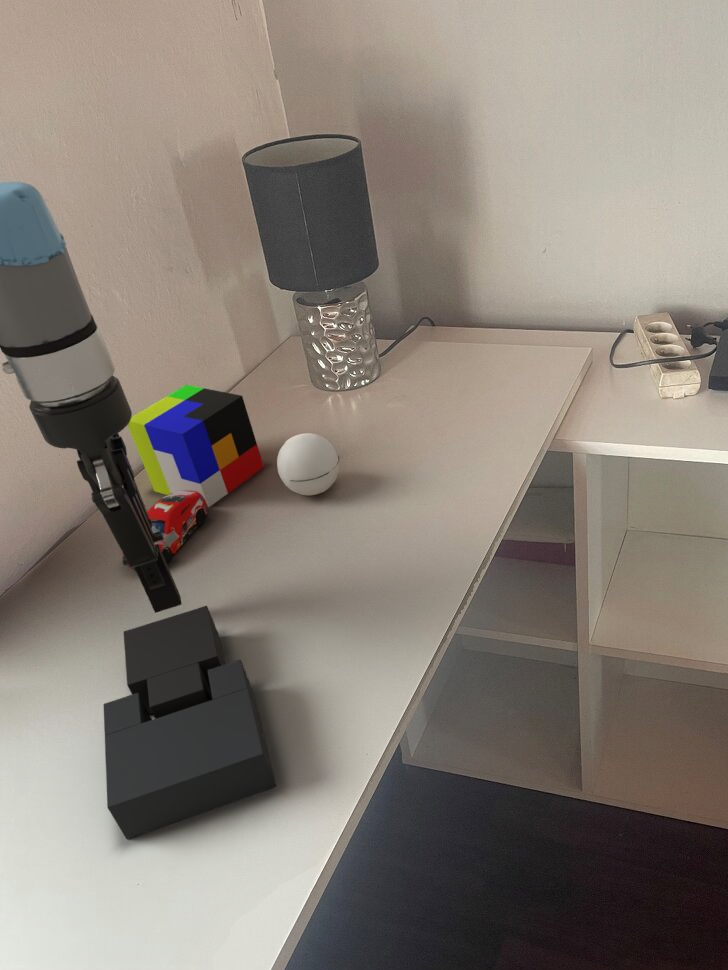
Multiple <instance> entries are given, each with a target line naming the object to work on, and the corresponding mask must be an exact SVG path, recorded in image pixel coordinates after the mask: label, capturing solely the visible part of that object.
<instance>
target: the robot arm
mask: <svg viewBox="0 0 728 970" xmlns="http://www.w3.org/2000/svg"><path fill="white" fill-rule="evenodd" d="M66 245H67V243H66V240H65V237H64V235H63V234H62V233H61V231H60V230H59V228H58V225H57V224H56V222H55V220H54V217H53V215H52V213H51V211H50V209H49V207H48V205H47V203H46V201H45V199H44V197H43V195H42V194H41V192H40V191H39V190H38V189H37V188H36V187H35V186H33V185H31V184H30V183H27V182H25V181H24V182H23V181H4V182H3V181H2V182H0V350H1V352H2V353H3V355H4V356H5V359H6V361H5V362H3V363H2V365H1V366H2V371H3V372H4V373H5V374H7V375H11V374H14V375H15V376H16V378H15V379H16V382H17V384H18V386H19V388H20V390H21V393H22V394H23V396H24V398H25V399H27V400H29V401H30V403H29V406H28V407H29V411H30V412H31V414H32V417H33V418H34V421H35V423H36V425H37V427H38V430H39V431H40V433H41V435H42V437H43V440H44V441H45V442H46V443H47V444H48V445H49V446H52V447H53V448H57V449H65V450H66V449H72V450H76V452H77V453H76V454H77V456H78V460H76V464H77V468H78V470H79V472H80V474H81V477H82V479H83V480H84V481H86V482H87V483H88V484H89V487H90V489H91V493H90V496H91V500H92V503H93V504H95V506H96V507H97V509H98V511H99V512H100V513H101V515H102V517H103V518H104V520H105V522H106V524H107V526H108V528H109V530H110V531H111V533H112V535H113V538H114V539H115V541H116V543H117V545H118V547H119V549H120V551H121V552H123V554H124V556H122V558H121V559H122V565H123V566H124V567H127V565H129V566H130V567H131V568H130V569H132V568H133V567H134V568H135V569H134V570H135V572H136V574H137V576H138V578H139V581H140V583H141V585H142V587H143V589H144V592H145V594H146V596H147V598H148V600H149V603H150V605H151V607H152V609H153V611H154V613H155V614H156V613H157V614H158V613H159V612H162V611H163V612H164V611H166V610H169V609H173V608H175V607H179V606H181V605H183V603H182V596H181V594H180V591H179V590H178V587H177V585H176V582H175V580H174V577H173V576H172V573H171V570H170V568H169V565H167V563H166V561H165V559H164V556H163V554H162V552H161V549H160V547H159V545H155V544H154V543H155V542H158V541H161V540H164V538H163V535H162V532H161V531H159V532H156V533H153V531H152V529H151V528H152V526H153V525H152V524H153V523H152V520H151V519H150V518H149V516H148V513H147V511H148V510H147V508H146V505H145V503H144V501H143V497H142V495H141V493H140V490H139V488H138V485H137V483H136V480H135V474H134V470H133V467H132V465H131V464H130V461H129V458H128V451H127V446H126V444H125V441H124V440H123V437H122V436H120V434H119V433H121V431H124V429H125V428H126V427H128V423H129V422H130V420H131V417H133V414H132V413H133V412H132V409H131V406H130V403H129V401H128V399H127V397H126V394H125V392H124V389H123V386H122V384H121V381H120V380H119V378H118V377H116V376H114V373H115V371H116V367H115V365H114V363H113V360H112V358H111V355H110V353H109V349H108V348H107V345H106V343H105V340H104V338H103V335H102V333H101V329H100V328H99V325H98V324H97V323H96V322H95V318H94V315H93V314H92V313H91V310H90V307H89V305H88V302H87V299H86V297H85V294H84V292H83V290H82V287H81V284H80V282H79V279H78V276H77V274H76V271H75V267H74V265H73V262H72V259H71V256H70V254H69V252H68V248H67V246H66Z"/></svg>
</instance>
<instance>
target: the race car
mask: <svg viewBox="0 0 728 970" xmlns="http://www.w3.org/2000/svg"><path fill="white" fill-rule="evenodd" d="M146 511H147V513H148V516H149V518H150V519H151V520H152V523H153V524H152V525H153V526H152V528H151V529H152V531H153V533H156V532H159V531H161V532H162V535H163V538H164V540H161V541H158V542H155V543H154V544H155V545H159V547H160V549H161V552H162V554H163V556H164V559H165V561H166V563H167V566H169V564H170V563H171V561H172V558H173V555H175V554H176V553H177V551H178V550H179V549H180V548H181V546H183V544H184V543H185V542H186V541H187V539H189V537H190V536H191V535H192V534H193V533H194V532H195V530H196V529H197V528H198V527H199V526H203V524H204V523H205V520H206V516H207V515H208V512H209V507H208V506H207V503H206V500H205V499H204V498H203V496H202V495H201V494H200V493H199V492H197V491H184V490H181V491H176V492H174V493H171V494H169V495H165V496H163V497H161V498H160V499H158V500H157V501H156V502H155V503H154V504H152V505H151V507H150V508H149V509H147V510H146ZM121 552H122V551H121ZM121 554H122V557H123V556H124V554H123V552H122V553H121ZM126 567H128V568H130V569H131V570H135V568H134V567H133V568H131V567H130V566H129V565H126Z"/></svg>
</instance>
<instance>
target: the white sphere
mask: <svg viewBox="0 0 728 970" xmlns="http://www.w3.org/2000/svg"><path fill="white" fill-rule="evenodd" d="M361 454H362V453H361V452H359V453H356V454H351V455H348V456H345V457H341V458H340V457H339V455H338V452H337V450H336V448H335V446H333V444H332V443H330V441H328V440H327V438H325V437H323V436H321V435H319V434H317V433H313V432H312V433H311V432H305V433H299V434H296V435H293V436H292V437H290V438H288V439H287V440H286V441H285V442H284V444H283V445H282V446H281V448H280V449H279V451H278V455H277V458H276V467H277V473H278V475H279V477H280V479H281V481H282V482H283V483H282V484H284V485H285V487H287V488H288V489H289V490H290V491H292V492H294V493H296V494H298V495H302V496H315V495H320V494H322V493H325V491H327V490H329V488H331V487H332V485H333V484H334V483H335V482H336V480H337V477H338V475H339V471H340V460H343V459H347V458H350V457H353V456H358V455H361Z"/></svg>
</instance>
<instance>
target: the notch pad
mask: <svg viewBox="0 0 728 970" xmlns="http://www.w3.org/2000/svg"><path fill="white" fill-rule="evenodd" d="M208 676H209V682H210V687H211V692H212V698H213V700H211V701H208V702H205V703H202V704H199V705H196V706H193V707H190V708H187V709H184V710H181V711H178V712H175V713H172V714H169V715H166V716H163V717H160V718H157V719H155V718H154V719H153V718H152V717H151V714H149V713H148V711H147V709H146V707H145V705H144V703H143V701H142V699H141V697H140V695H139V693H136V694H132V693H131V694H130V695H126V696H124V697H120V698H118V699H114V700H111V701H109V702H105V703H103V726H104V727H103V728H104V729H103V730H104V754H105V756H104V757H105V779H106V780H105V781H106V782H105V783H106V805H107V810H108V811H109V813H110V815H111V816H112V817H113V819H114V821H115V823H116V824H117V827H118V828H119V829H120V831H121V833H122V834H123V836H124V838H125V839H126V840H129V839H133V838H134V837H135V838H136V837H137V836H141V835H143V834H146V833H149V832H151V831H155V830H157V829H160V828H163V827H166V826H168V825H171V824H174V823H177V822H181V821H183V820H185V819H189V818H191V817H194V816H197V815H199V814H203V813H205V812H208V811H211V810H213V809H216V808H219V807H222V806H225V805H227V804H230V803H233V802H236V801H239V800H241V799H244V798H248V797H250V796H252V795H255V794H258V793H262V792H264V791H267V790H270V789H273V788H275V787H277V783H276V782H277V781H276V777H275V773H274V770H273V766H272V762H271V758H270V754H269V750H268V746H267V741H266V737H265V734H264V730H263V726H262V721H261V717H260V713H259V709H258V704H257V701H256V697H255V693H254V689H253V687H252V684H251V681H250V679H249V677H248V674H247V671H246V669H245V666H244V663H243V662H242V659H237V660H234V661H232V662H229V663H225V665H222V666H219V667H216V668H213V669H210V670H208Z"/></svg>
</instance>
